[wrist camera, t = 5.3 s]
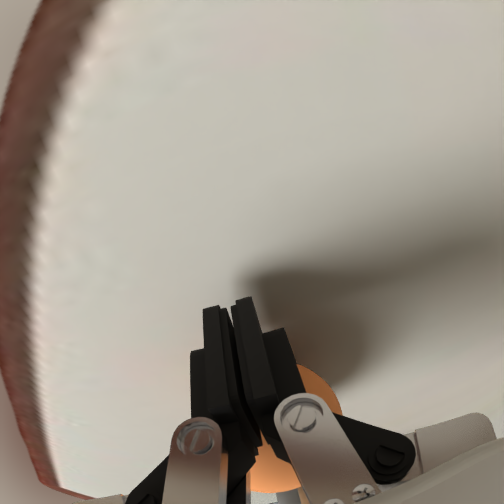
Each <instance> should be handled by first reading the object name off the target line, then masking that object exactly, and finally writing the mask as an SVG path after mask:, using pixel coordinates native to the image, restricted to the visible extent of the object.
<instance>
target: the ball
mask: <svg viewBox="0 0 504 504" xmlns="http://www.w3.org/2000/svg"><path fill="white" fill-rule="evenodd" d="M297 367H298V370H299V372H300V375H301V378H302V381H303V384H304V387H305V390H306V393H310V394H314V395H317V396H318V397H320V398H322V399H323V400H324V401H325V402H326V404H327V405H328V407H329V408H330V410H331V412H333V413H336V414H339V415H342V411H341V407H340V404H339V402H338V399H337V397H336V395H335V394H334V392H333V391H332V389H331V388H330V386H329V385H328V384H327V383H326V382H325V381H324V380H323V379H322V378H321V377H320V376H319V375H317V374H316V373H314V372H313V371H311V370H310V369H308V368H306V367H304V366H301V365H298V364H297ZM260 432H261V430H260ZM261 437H262V442H263V446H261V447H258V452H259V455H257V456H255V458H256V463H255V464H254V465H253V466H252V467H251V469H250V473H251V491H256V492H263V493H277V492H285V491H289V490H293V489H296V488H298V487H301V484H300V482H299V480H298V478H297V476H296V474H295V472H294V470H293V468H292V465H291V464H290V463H288V462H285V461H283V460H281V459H279V458H277V457H276V455H275V453H274V451H273V449H272V447H271V445H270V444H269V445H268V444H267V442H266V440H265V438H264V436H263V434H262V432H261Z"/></svg>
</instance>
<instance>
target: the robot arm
mask: <svg viewBox="0 0 504 504" xmlns="http://www.w3.org/2000/svg"><path fill="white" fill-rule="evenodd" d="M231 313H232V320H233V325H232V322H231V319H230V317H229V314H228V311H227V309H226V308H222V309H221V308H220V306H219V305H217V306H213V307H209V308H205V309H203V333H204V348H203V349H199V350H195V351H191V353H190V386H191V419H188V420H186V421H184V422H183V423H182V424H180V425H179V426H178V427H177V429H176V430H175V431H174V433H173V436H172V440H171V446H170V453H169V455H168V456H167V457H166V458H165V459H164V460H163V461H162V462H161V463H160V464H159V465H158V466H157V467H156V468H155V469H154V470H153V471H152V472H151V473H150V474H149V475H148V476H147V477H146V478H145V479H144V480H143V481H142V482H141V483H140V484H139V485H138V486H137V487H136V488H135V489H134V490H132V492H131V493H130V494H129V495H125V496H124V495H122V494H119V495H114V496H109V497H103V498H97V499H91V500H85V501H77V502H75V503H72V504H251V473H250V469H251V467H252V466H253V465H254V464H255V463H256V458H255V456H257V455H259V452H258V447H261V446H263V442H262V437H261V432H262V434H263V436H264V438H265V440H266V442H267V444H268V445H269V444H270V445H271V447H272V449H273V451H274V453H275V455H276V457H277V458H279V459H281V460H283V461H285V462H288V463H290V464H291V465H292V468H293V470H294V472H295V474H296V476H297V478H298V480H299V482H300V484H301V487H302V489H303V491H304V493H305V495H306V497H307V499H308V501H309V503H310V504H504V438H499V439H496V435H495V432H494V429H493V426H492V423H491V422H490V420H489V418H488V417H486V416H485V415H484V414H481V413H470V414H467V415H464V416H461V417H458V418H455V419H452V420H449V421H445V422H442V423H439V424H435V425H432V426H428V427H424V428H420V429H417V430H415V432H413V433H409V434H405V435H402V434H400V433H396V432H393V431H389V430H386V429H382V428H379V427H376V426H372V425H369V424H366V423H363V422H360V421H357V420H354V419H351V418H348V417H345V416H342V415H339V414H336V413H333V412H331V410H330V408H329V407H328V405H327V404H326V402H325V401H324V400H323V399H322V398H320V397H318V396H317V395H314V394H310V393H306V390H305V387H304V384H303V381H302V378H301V375H300V372H299V370H298V367H297V364H296V361H295V358H294V355H293V352H292V349H291V346H290V344H289V341H288V338H287V335H286V332H285V329H284V328H280V329H277V330H273V331H270V332H266V333H262V331H261V327H260V324H259V321H258V317H257V314H256V310H255V307H254V304H253V300H252V297H251V296H250V297H247V298H243V299H239V300H236V305H234V306H231ZM233 326H234V327H233ZM260 430H261V432H260Z"/></svg>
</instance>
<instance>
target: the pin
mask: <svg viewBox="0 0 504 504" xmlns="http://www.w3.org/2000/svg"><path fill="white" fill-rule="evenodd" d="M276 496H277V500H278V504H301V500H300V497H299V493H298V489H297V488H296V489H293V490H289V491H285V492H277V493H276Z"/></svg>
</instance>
